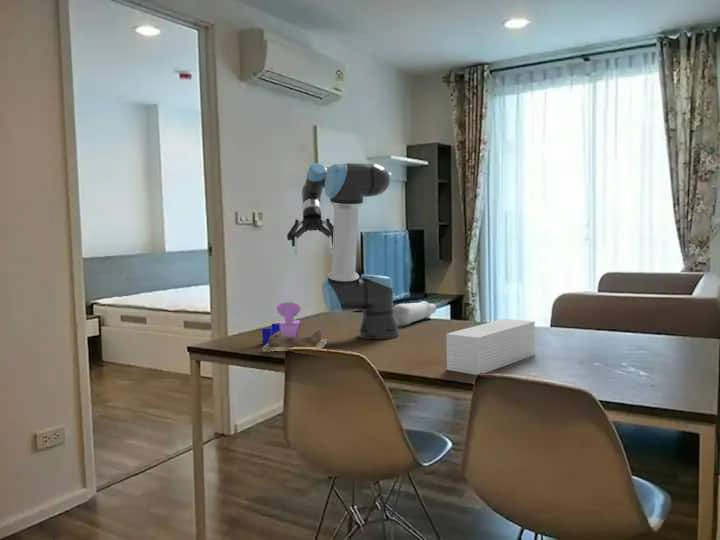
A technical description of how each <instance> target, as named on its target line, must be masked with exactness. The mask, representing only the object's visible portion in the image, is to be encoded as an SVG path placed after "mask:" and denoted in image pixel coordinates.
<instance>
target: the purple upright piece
mask: <svg viewBox="0 0 720 540" xmlns="http://www.w3.org/2000/svg"><path fill="white" fill-rule="evenodd" d="M276 311H277V313H278V314H279V315H280V316H282V317H283V318H284V320H282V321H281V322H279V323H280V330H281V335H282V338H290V337H301V336H300V333H299V330H300V327H301V320H300V319H299V320H298V319H297V320H294V318H295V316H297V315H298V314H300V311H301V306H300V304H298V303H296V302H293V301H284V302H282V303H279V304H278V305H277V306H276Z"/></svg>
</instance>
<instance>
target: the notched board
mask: <svg viewBox="0 0 720 540" xmlns="http://www.w3.org/2000/svg"><path fill="white" fill-rule="evenodd" d="M321 333H322V331H321V330H316V331H315V332H314V333H313V334H312V335H311V336H302V337H301V336H300V337H290V338H282V332H276V333H275V334H273V335H272V336H271V337H270V338H268V344H266V345H263V347H262V352H263V353H266V352H267V353H274V352H273V351H285V350H286V349H288V348H293V347H316V348H322V349H324V347H325V346H326V345H327V344H328V343H327V338H322V334H321ZM271 351H272V352H271Z"/></svg>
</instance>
